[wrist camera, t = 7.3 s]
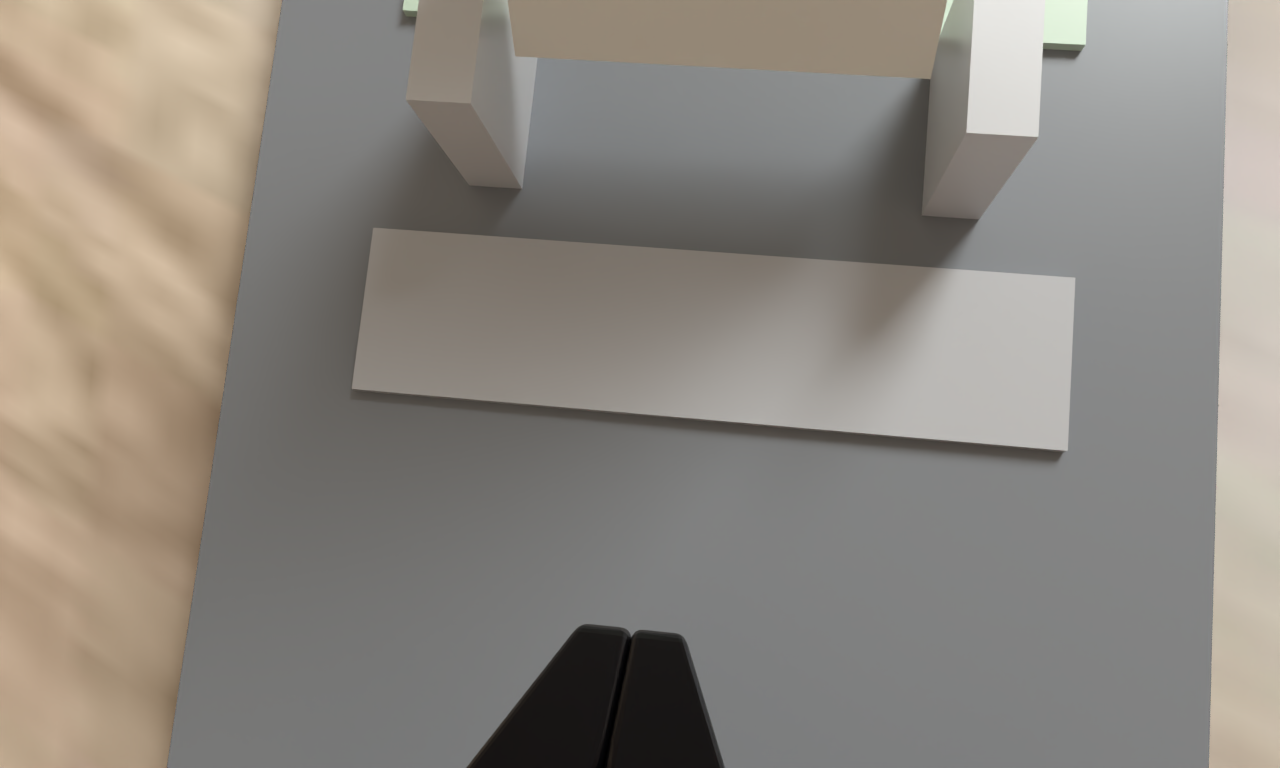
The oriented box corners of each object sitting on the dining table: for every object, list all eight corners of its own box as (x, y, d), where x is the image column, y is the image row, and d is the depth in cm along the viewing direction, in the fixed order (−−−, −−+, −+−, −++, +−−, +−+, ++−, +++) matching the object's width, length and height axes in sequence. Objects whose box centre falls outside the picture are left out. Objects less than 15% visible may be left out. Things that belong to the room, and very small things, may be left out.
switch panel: (1160, 1188, 15) (1332, 1451, 11) (165, 1039, 16) (-43, 1214, 12) (1198, -67, 17) (1348, -271, 13) (331, -102, 19) (208, -297, 14)
